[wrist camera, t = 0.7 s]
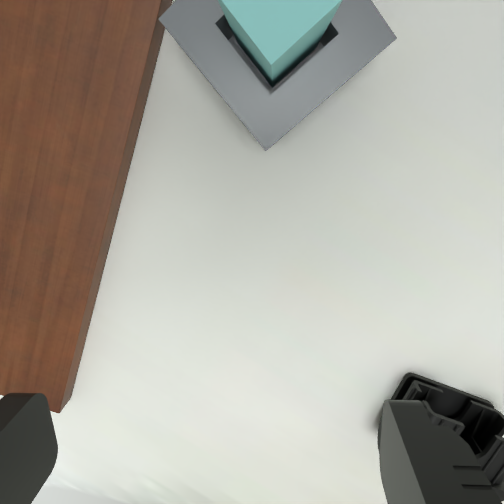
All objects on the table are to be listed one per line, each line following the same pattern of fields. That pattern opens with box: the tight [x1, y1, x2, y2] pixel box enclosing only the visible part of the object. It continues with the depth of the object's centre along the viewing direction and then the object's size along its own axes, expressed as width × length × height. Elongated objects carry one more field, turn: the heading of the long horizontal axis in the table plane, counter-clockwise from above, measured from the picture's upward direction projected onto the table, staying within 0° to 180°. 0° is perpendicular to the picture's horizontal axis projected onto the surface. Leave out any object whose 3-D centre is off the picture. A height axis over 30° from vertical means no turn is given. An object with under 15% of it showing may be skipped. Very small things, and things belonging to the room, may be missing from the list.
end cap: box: [378, 373, 504, 501], centre depth 37 cm, size 10×7×7 cm
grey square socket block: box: [159, 0, 397, 151], centre depth 28 cm, size 10×10×7 cm
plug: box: [218, 0, 342, 88], centre depth 24 cm, size 4×4×13 cm
